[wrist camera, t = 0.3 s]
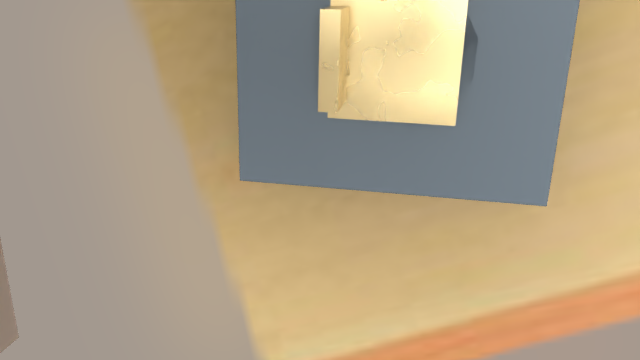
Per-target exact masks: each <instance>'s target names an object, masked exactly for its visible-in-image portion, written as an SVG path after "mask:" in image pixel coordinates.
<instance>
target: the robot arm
mask: <svg viewBox="0 0 640 360" xmlns="http://www.w3.org/2000/svg"><path fill="white" fill-rule="evenodd" d="M18 338H19V335H18V330H17V324H16V319H15V313H14V308H13V303H12V298H11V292H10V287H9V282H8V276H7V271H6V265H5V261H4V255H3V250H2V244H1V239H0V353H1V352H2V351H4V350H5V349H6V348H7V347H8V346H9V345H11V344H12V343H13V342H14V341H15V340H16V339H18Z"/></svg>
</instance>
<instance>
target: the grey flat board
mask: <svg viewBox="0 0 640 360" xmlns="http://www.w3.org/2000/svg"><path fill="white" fill-rule="evenodd" d="M579 1H580V0H468V6H467V16H466V26H465V36H464V46H463V56H462V66H461V76H460V86H459V96H458V106H457V115H456V125H455V126H447V125H431V124H416V123H400V122H385V121H369V120H354V119H339V118H328V112H318V84H319V37H320V9H322V8H325V7H329V6H331V0H236V36H237V79H238V121H239V163H240V180H242V181H254V182H265V183H277V184H289V185H301V186H313V187H325V188H336V189H348V190H360V191H372V192H384V193H396V194H407V195H419V196H431V197H443V198H455V199H467V200H479V201H490V202H502V203H514V204H526V205H538V206H547V201H548V195H549V189H550V183H551V176H552V170H553V164H554V158H555V151H556V145H557V139H558V133H559V126H560V120H561V114H562V108H563V101H564V95H565V89H566V83H567V76H568V70H569V64H570V58H571V51H572V45H573V39H574V33H575V26H576V20H577V14H578V8H579Z"/></svg>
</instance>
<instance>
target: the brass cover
mask: <svg viewBox="0 0 640 360" xmlns="http://www.w3.org/2000/svg"><path fill="white" fill-rule="evenodd" d="M467 6H468V0H331V6H329V7H325V8H322V9H320V37H319V84H318V112H328V118H339V119H354V120H369V121H385V122H400V123H416V124H431V125H447V126H455V125H456V115H457V106H458V96H459V86H460V76H461V66H462V56H463V46H464V36H465V26H466V16H467Z"/></svg>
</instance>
